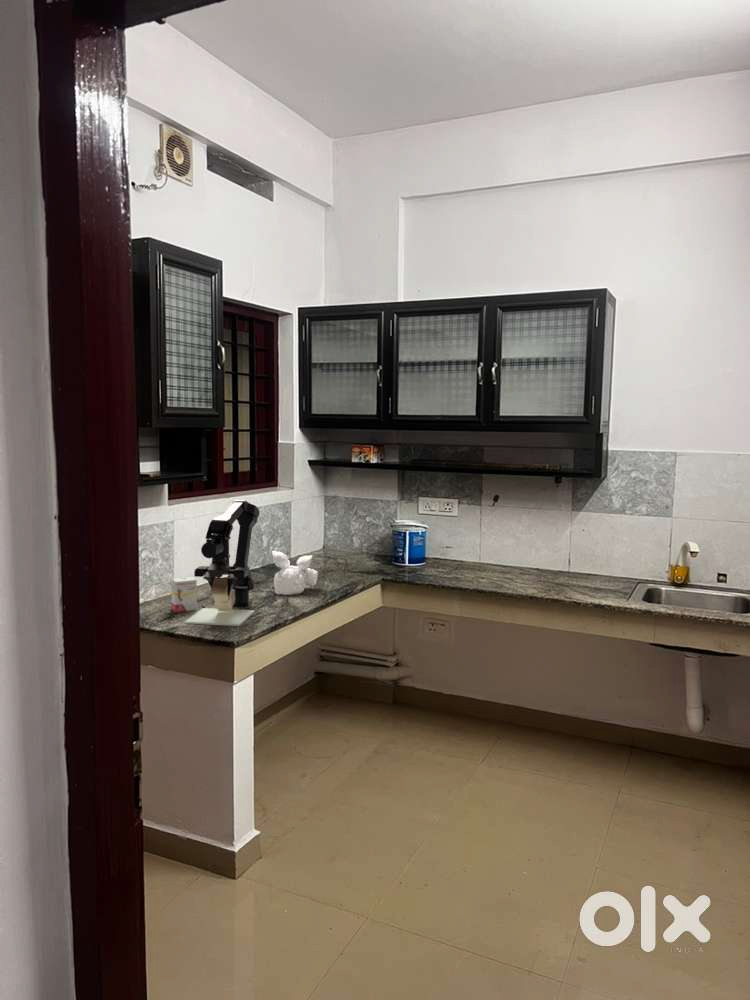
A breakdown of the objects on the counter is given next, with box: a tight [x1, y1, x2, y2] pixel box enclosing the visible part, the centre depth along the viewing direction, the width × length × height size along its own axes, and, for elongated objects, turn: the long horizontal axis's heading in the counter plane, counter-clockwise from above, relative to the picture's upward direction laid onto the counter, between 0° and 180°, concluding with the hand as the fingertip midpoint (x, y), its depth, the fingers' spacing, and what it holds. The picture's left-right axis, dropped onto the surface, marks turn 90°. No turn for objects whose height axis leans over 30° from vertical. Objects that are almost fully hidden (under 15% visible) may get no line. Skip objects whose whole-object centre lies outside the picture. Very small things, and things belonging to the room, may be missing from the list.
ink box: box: [171, 576, 198, 613], centre depth 279 cm, size 9×5×12 cm, turn 120°
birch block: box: [210, 577, 235, 612], centre depth 272 cm, size 6×5×12 cm
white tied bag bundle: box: [271, 550, 319, 596], centre depth 312 cm, size 19×20×20 cm
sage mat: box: [184, 607, 255, 627], centre depth 270 cm, size 19×20×1 cm
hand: (221, 595), depth 270 cm, fingers closed on birch block, 5 cm apart
